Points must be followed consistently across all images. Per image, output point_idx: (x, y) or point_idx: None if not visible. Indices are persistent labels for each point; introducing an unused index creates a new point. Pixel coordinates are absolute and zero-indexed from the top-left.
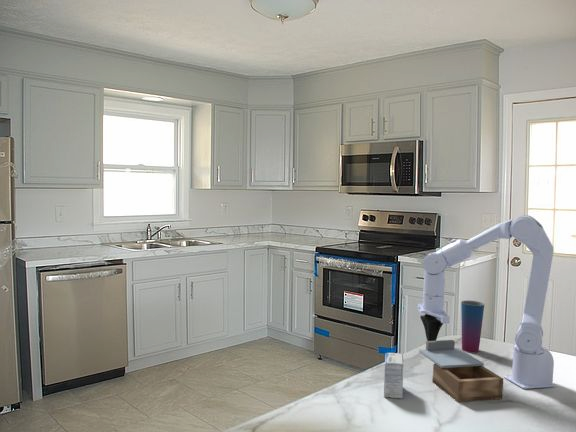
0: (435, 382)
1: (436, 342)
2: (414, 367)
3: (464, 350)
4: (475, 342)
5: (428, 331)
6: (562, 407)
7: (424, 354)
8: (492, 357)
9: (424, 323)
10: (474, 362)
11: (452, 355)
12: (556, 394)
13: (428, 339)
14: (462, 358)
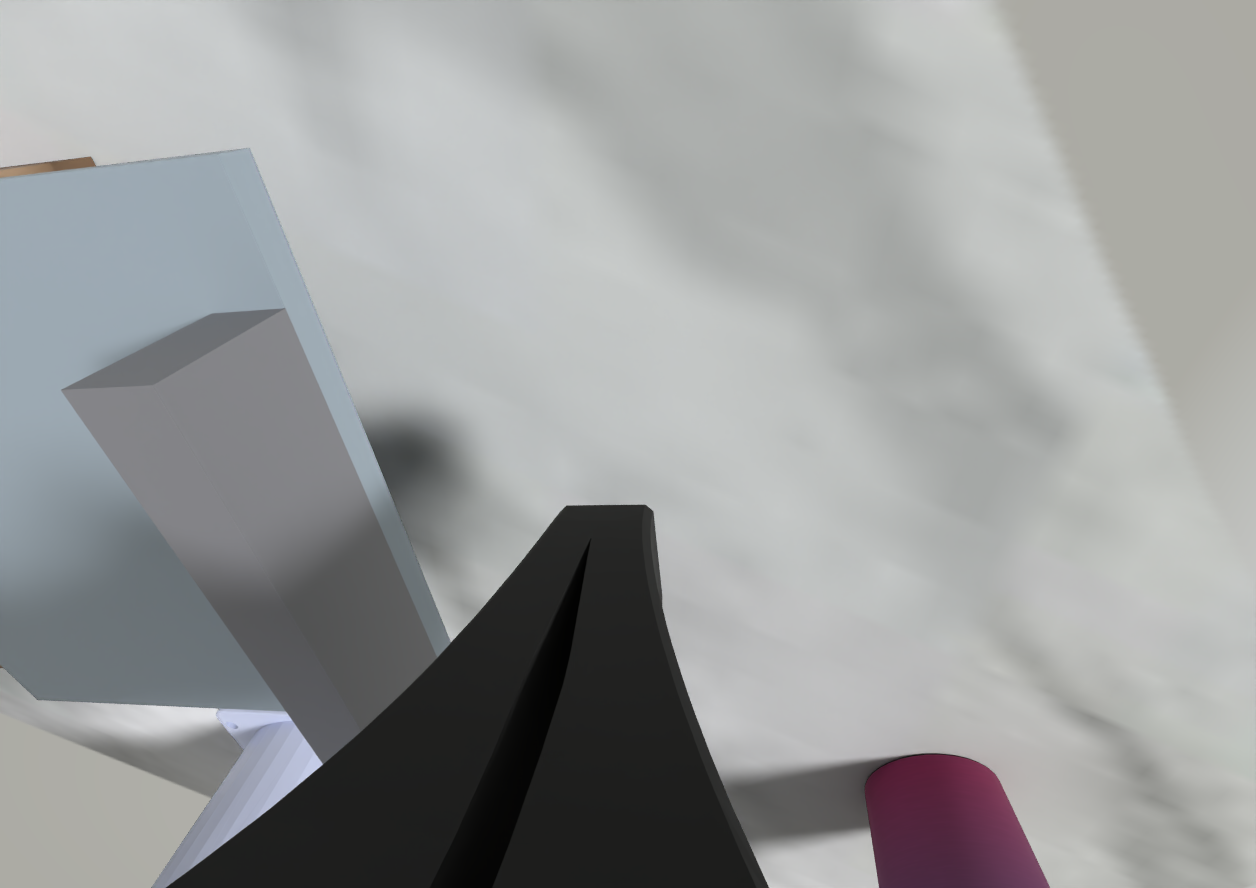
0: (17, 166)
1: (184, 547)
2: (539, 113)
3: (923, 757)
4: (878, 876)
5: (452, 661)
6: (57, 719)
7: (36, 176)
8: (747, 812)
9: (572, 868)
10: (14, 648)
11: (143, 560)
12: (217, 772)
13: (557, 525)
14: (83, 607)
